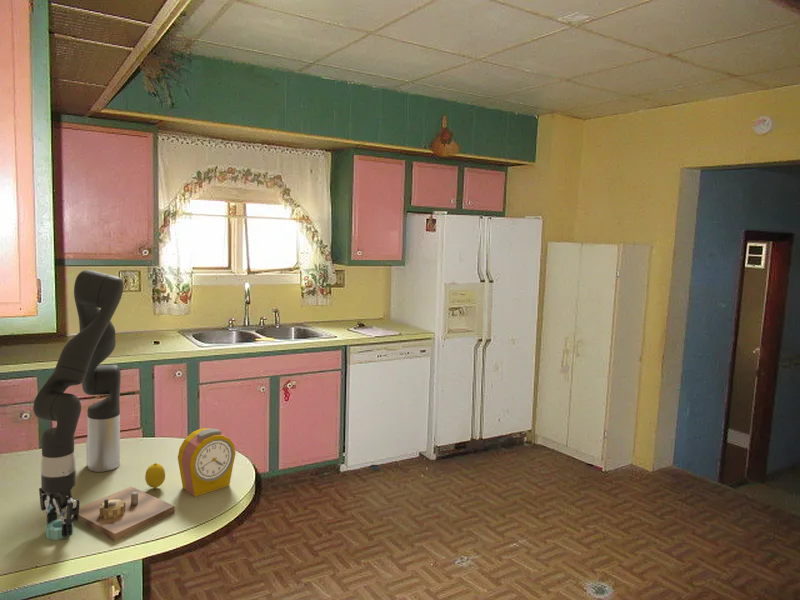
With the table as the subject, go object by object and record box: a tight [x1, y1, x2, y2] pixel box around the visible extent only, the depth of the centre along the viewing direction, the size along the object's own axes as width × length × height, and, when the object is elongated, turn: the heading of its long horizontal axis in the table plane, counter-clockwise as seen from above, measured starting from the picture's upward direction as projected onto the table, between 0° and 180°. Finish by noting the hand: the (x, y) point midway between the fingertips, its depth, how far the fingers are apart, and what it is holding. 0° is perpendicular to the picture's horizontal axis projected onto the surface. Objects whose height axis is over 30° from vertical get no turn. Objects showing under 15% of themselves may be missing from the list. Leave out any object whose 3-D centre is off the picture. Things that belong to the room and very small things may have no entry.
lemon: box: [144, 462, 166, 489], centre depth 177 cm, size 6×6×8 cm
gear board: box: [73, 486, 176, 542], centre depth 161 cm, size 19×18×6 cm
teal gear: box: [45, 518, 74, 541], centre depth 151 cm, size 6×6×2 cm
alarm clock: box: [177, 427, 236, 497], centre depth 180 cm, size 15×8×18 cm, turn 137°
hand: (59, 531), depth 151 cm, fingers closed on teal gear, 6 cm apart
